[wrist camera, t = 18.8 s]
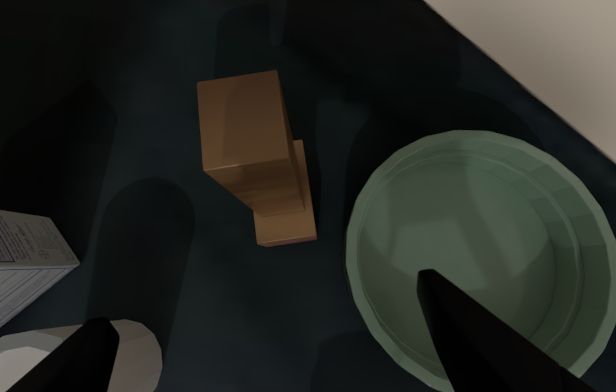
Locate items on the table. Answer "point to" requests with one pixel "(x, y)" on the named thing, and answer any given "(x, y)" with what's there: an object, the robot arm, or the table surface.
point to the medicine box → (29, 260)
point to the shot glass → (39, 343)
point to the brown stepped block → (257, 154)
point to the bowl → (481, 248)
